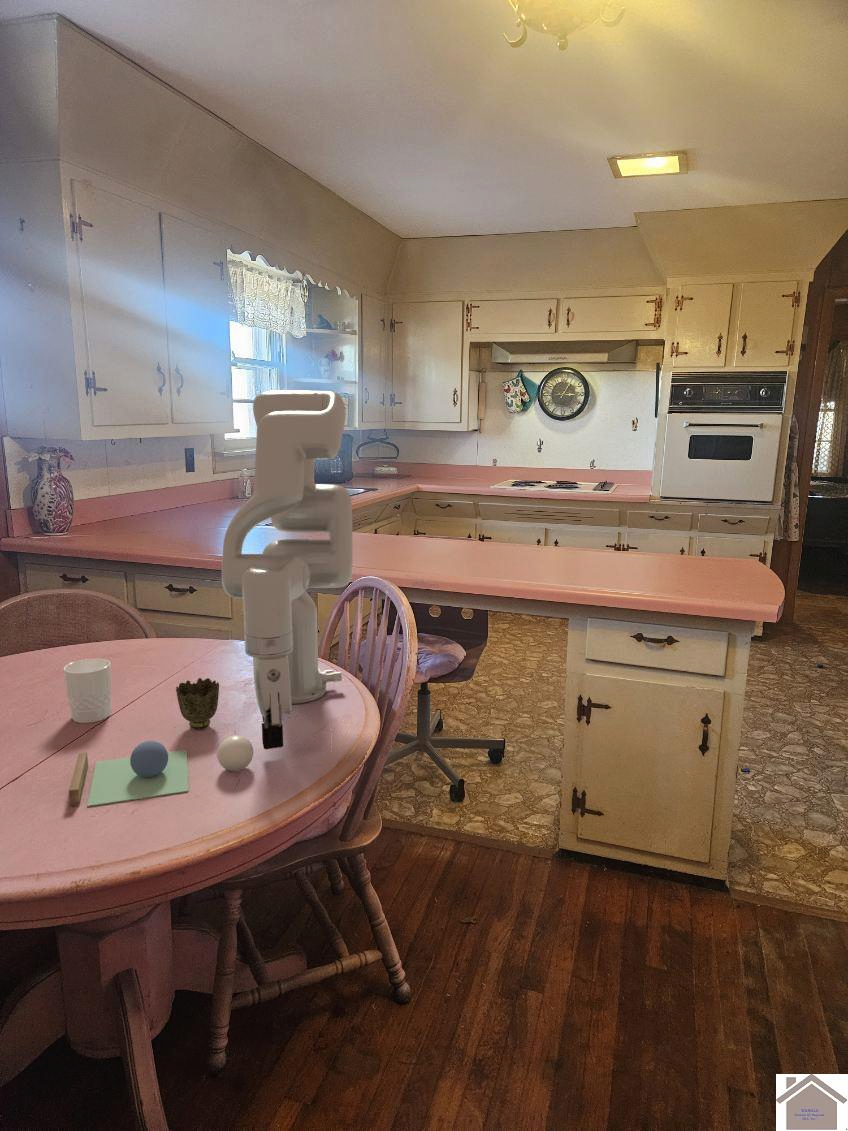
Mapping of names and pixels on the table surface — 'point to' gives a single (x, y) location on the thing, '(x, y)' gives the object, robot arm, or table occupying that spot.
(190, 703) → the cup
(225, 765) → the cream ball
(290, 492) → the robot arm
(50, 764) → the table surface
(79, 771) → the stop rail
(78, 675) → the white cup
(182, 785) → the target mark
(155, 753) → the object ball
